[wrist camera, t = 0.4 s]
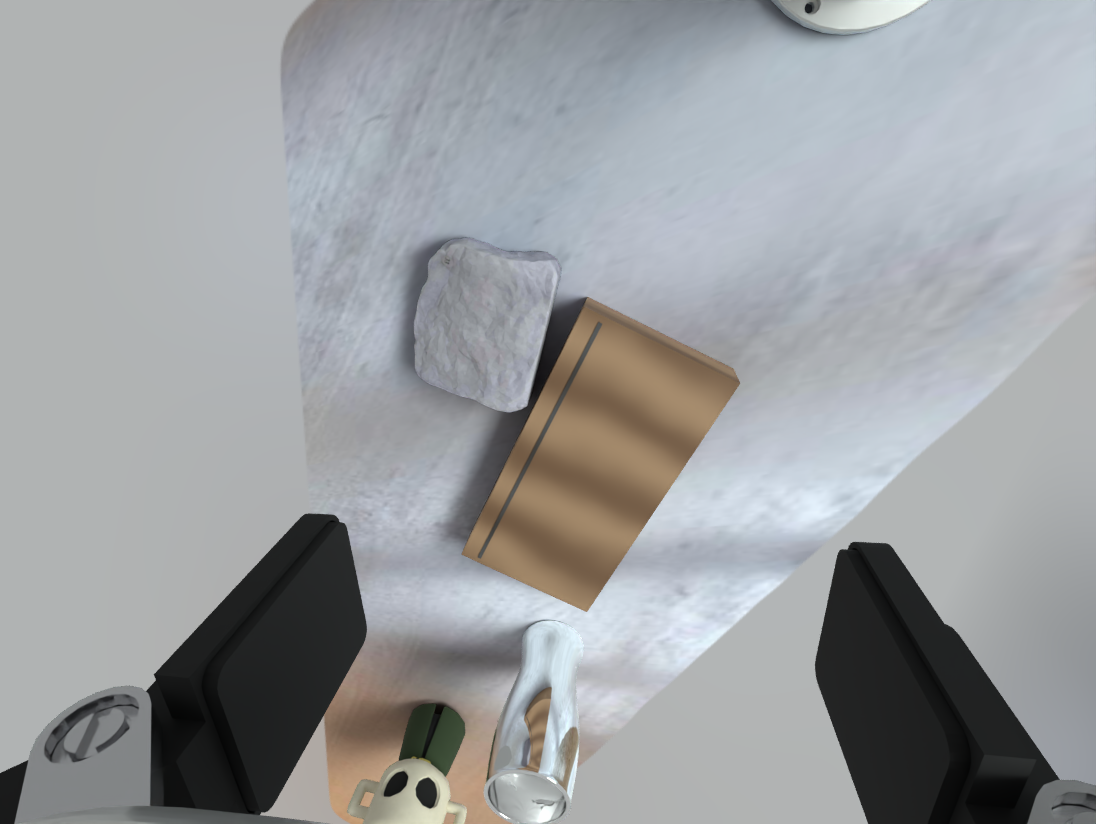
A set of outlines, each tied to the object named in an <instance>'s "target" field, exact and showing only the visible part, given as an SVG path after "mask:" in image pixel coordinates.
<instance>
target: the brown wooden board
mask: <svg viewBox="0 0 1096 824" xmlns="http://www.w3.org/2000/svg"><path fill="white" fill-rule="evenodd" d="M739 384H740V382H739V380H738V378H737V375H736V373H735V371H734V369H733V368H731V367H729V366H727V365H725V364H723V363H721V362H719V361H717V360H715V359H713V358H711V357H708V356H706V355H704V354H702V353H700V352H698V351H696V350H694V349H692V348H690V347H688V346H686V345H684V344H682V343H680V342H678V341H676V340H674V339H672V338H670V337H668V336H666V335H664V334H662V333H660V332H658V331H656V330H654V329H652V328H650V327H648V326H646V325H644V324H642V323H640V322H637V321H635V320H633V319H631V318H629V317H627V316H625V315H623V314H621V313H619V312H617V311H615V310H613V309H611V308H609V307H607V306H605V305H603V304H601V303H599V302H597V301H595V300H593V299H591V298H589V297H587V299H586V301H585V303H584V305H583V307H582V309H581V311H580V313H579V315H578V317H577V319H576V321H575V323H574V325H573V327H572V329H571V331H570V333H569V335H568V337H567V339H566V341H565V343H564V345H563V347H562V349H561V351H560V353H559V356H558V358H557V360H556V362H555V364H554V366H553V368H552V370H551V372H550V374H549V376H548V378H547V380H546V382H545V384H544V386H543V388H542V390H541V392H540V394H539V396H538V398H537V400H536V402H535V404H534V406H533V408H532V410H531V412H530V414H529V416H528V418H527V420H526V422H525V424H524V426H523V428H522V430H521V432H520V434H519V436H518V438H517V440H516V442H515V445H514V447H513V449H512V451H511V453H510V455H509V457H508V459H507V461H506V463H505V465H504V467H503V469H502V471H501V473H500V475H499V477H498V479H497V481H496V483H495V485H494V487H493V489H492V491H491V493H490V495H489V497H488V499H487V501H486V503H485V505H484V507H483V509H482V511H481V513H480V515H479V517H478V519H477V521H476V523H475V525H474V527H473V529H472V531H471V534H470V536H469V538H468V540H467V543H466V545H465V547H464V549H463V552H462V555H464V556H466V557H468V558H470V559H472V560H475V561H477V562H479V563H481V564H483V565H486V566H488V567H490V568H492V569H494V570H496V571H499V572H501V573H503V574H505V575H507V576H509V577H512V578H514V579H516V580H518V581H520V582H523V583H525V584H527V585H529V586H531V587H533V588H536V589H538V590H540V591H542V592H544V593H546V594H549V595H551V596H553V597H555V598H557V599H560V600H562V601H564V602H566V603H568V604H570V605H573V606H575V607H577V608H579V609H581V610H584V611H586V612H587V611H588V610H589V608H590V607H591V605H592V604H593V602H594V601H595V599H596V598H597V596H598V595H599V593H600V592H601V590H602V589H603V587H604V586H605V584H606V583H607V581H608V580H609V578H610V577H611V575H612V574H613V572H614V571H615V569H616V568H617V566H618V565H619V563H620V562H621V560H622V559H623V557H624V556H625V554H626V553H627V551H628V550H629V548H630V547H631V545H632V544H633V543H634V541H635V540H636V538H637V537H638V535H639V534H640V532H641V531H642V529H643V528H644V526H645V525H646V523H647V522H648V520H649V519H650V517H651V516H652V514H653V513H654V511H655V510H656V508H657V507H658V505H659V504H660V502H661V501H662V499H663V498H664V496H665V495H666V493H667V492H668V490H669V489H670V487H671V486H672V484H673V483H674V481H675V480H676V478H677V477H678V475H679V474H680V472H681V471H682V469H683V468H684V466H685V465H686V463H687V462H688V460H689V459H690V458H691V456H692V455H693V453H694V452H695V450H696V449H697V447H698V446H699V444H700V443H701V441H702V440H703V438H704V437H705V435H706V434H707V432H708V431H709V429H710V428H711V426H712V425H713V423H714V422H715V420H716V419H717V417H718V416H719V414H720V413H721V411H722V410H723V408H724V407H725V405H726V404H727V402H728V401H729V399H730V398H731V396H732V395H733V393H734V392H735V390H736V389H737V387H738V386H739Z"/></svg>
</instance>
